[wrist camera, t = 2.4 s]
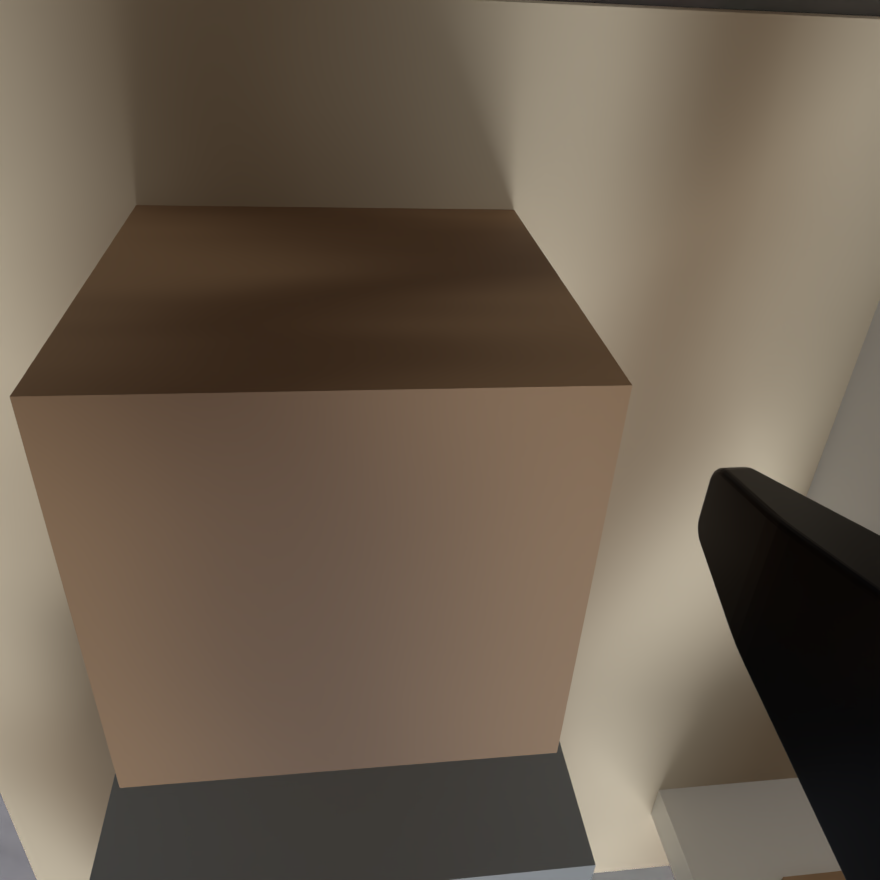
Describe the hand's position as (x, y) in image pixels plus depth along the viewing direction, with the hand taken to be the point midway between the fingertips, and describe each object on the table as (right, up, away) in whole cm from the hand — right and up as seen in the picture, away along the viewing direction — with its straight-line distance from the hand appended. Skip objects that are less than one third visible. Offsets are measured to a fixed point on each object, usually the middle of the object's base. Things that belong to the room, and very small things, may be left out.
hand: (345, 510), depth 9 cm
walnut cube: (0, +2, +3) cm, 3 cm away
